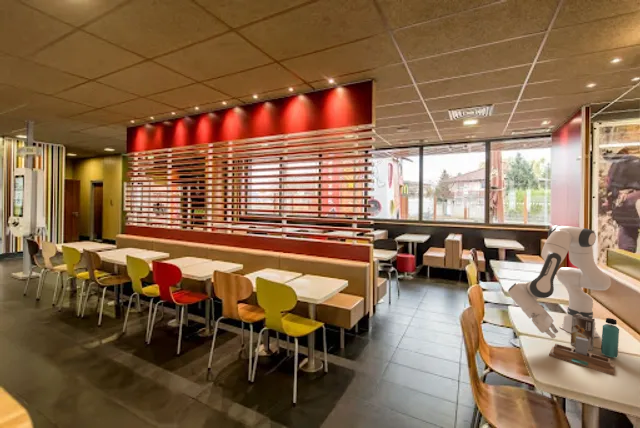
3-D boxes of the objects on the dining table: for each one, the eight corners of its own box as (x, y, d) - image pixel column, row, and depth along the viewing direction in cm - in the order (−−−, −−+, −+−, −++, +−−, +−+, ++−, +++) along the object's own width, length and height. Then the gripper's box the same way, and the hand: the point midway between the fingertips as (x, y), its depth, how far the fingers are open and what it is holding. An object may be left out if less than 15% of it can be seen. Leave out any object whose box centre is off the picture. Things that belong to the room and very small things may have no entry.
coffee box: (593, 347, 169) (595, 318, 168) (591, 351, 165) (593, 321, 164) (572, 341, 176) (574, 313, 175) (569, 344, 171) (571, 316, 171)
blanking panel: (575, 355, 156) (576, 336, 156) (586, 359, 153) (588, 339, 153) (574, 357, 154) (576, 338, 154) (586, 361, 151) (587, 341, 151)
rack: (552, 348, 166) (553, 340, 166) (613, 365, 150) (614, 357, 149) (548, 356, 157) (549, 348, 157) (613, 375, 140) (614, 367, 140)
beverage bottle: (621, 361, 154) (624, 322, 153) (605, 359, 156) (608, 320, 155) (611, 355, 161) (614, 317, 160) (596, 353, 162) (599, 316, 161)
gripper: (536, 312, 158) (558, 338, 151) (542, 304, 172) (563, 327, 166) (525, 318, 161) (546, 343, 154) (532, 310, 176) (552, 332, 169)
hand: (555, 335), depth 160 cm, fingers open, 8 cm apart
